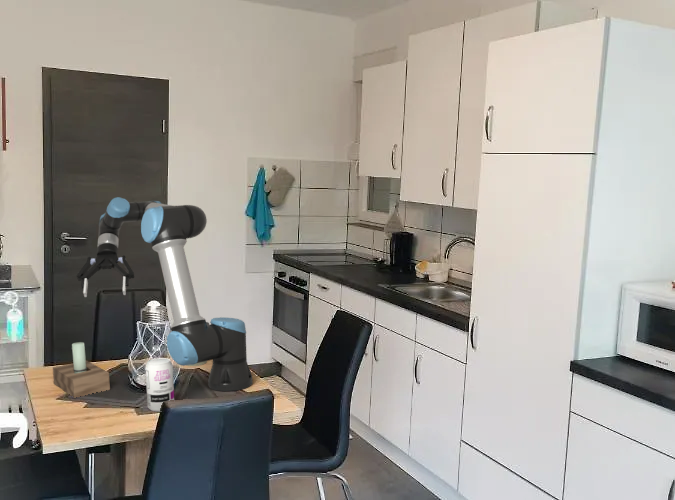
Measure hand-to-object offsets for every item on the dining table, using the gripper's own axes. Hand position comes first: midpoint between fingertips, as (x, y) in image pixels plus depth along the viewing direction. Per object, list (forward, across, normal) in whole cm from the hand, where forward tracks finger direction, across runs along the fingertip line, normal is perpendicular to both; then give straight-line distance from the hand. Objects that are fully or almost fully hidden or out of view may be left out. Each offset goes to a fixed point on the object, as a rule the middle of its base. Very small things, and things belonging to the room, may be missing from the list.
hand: (104, 294), depth 247 cm
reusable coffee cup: (+17, -31, -25) cm, 43 cm away
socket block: (+31, +8, -11) cm, 34 cm away
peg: (+31, +8, -10) cm, 33 cm away
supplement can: (+51, -21, +9) cm, 56 cm away
